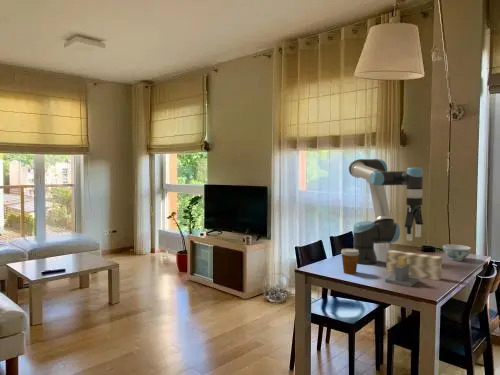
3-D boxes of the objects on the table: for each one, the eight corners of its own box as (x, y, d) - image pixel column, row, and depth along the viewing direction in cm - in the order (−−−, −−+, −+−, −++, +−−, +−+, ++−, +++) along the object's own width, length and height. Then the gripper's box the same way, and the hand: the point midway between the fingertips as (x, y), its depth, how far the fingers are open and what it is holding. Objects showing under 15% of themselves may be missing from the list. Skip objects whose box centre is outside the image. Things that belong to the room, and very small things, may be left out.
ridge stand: (385, 282, 189) (385, 257, 188) (394, 276, 198) (394, 253, 197) (410, 287, 181) (411, 261, 181) (418, 281, 190) (419, 256, 190)
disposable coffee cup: (337, 272, 206) (337, 250, 206) (346, 269, 213) (347, 247, 212) (353, 276, 200) (353, 252, 199) (362, 272, 206) (362, 250, 206)
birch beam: (386, 271, 208) (386, 251, 208) (389, 269, 212) (390, 249, 211) (438, 280, 192) (439, 258, 191) (441, 278, 195) (441, 256, 195)
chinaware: (457, 256, 244) (457, 243, 243) (476, 261, 229) (477, 248, 229) (436, 257, 240) (437, 245, 240) (455, 263, 225) (455, 250, 225)
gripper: (413, 199, 188) (413, 242, 189) (429, 196, 207) (428, 236, 208) (398, 198, 193) (397, 241, 194) (414, 195, 212) (414, 234, 213)
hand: (413, 238), depth 201 cm, fingers open, 13 cm apart
